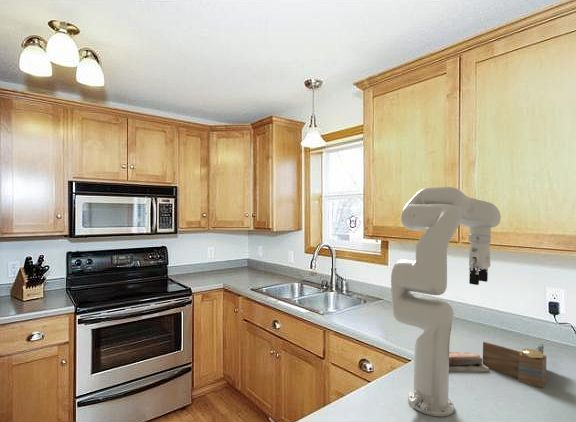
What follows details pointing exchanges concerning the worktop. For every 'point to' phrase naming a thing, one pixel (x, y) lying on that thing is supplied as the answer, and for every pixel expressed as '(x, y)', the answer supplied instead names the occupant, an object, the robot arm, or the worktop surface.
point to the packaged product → (466, 362)
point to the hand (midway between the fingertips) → (478, 282)
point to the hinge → (516, 363)
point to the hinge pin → (532, 353)
